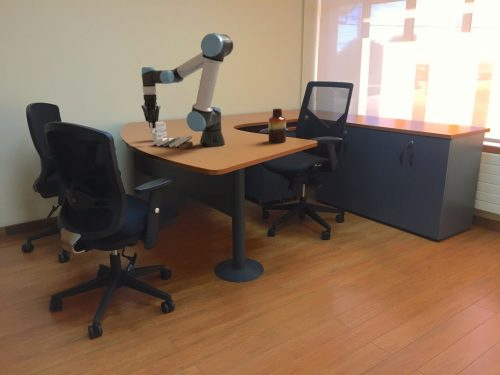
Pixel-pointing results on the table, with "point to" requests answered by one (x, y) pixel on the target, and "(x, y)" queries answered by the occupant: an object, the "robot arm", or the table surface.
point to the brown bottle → (277, 127)
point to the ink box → (159, 131)
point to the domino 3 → (170, 142)
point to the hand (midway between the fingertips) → (152, 133)
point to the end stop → (186, 145)
